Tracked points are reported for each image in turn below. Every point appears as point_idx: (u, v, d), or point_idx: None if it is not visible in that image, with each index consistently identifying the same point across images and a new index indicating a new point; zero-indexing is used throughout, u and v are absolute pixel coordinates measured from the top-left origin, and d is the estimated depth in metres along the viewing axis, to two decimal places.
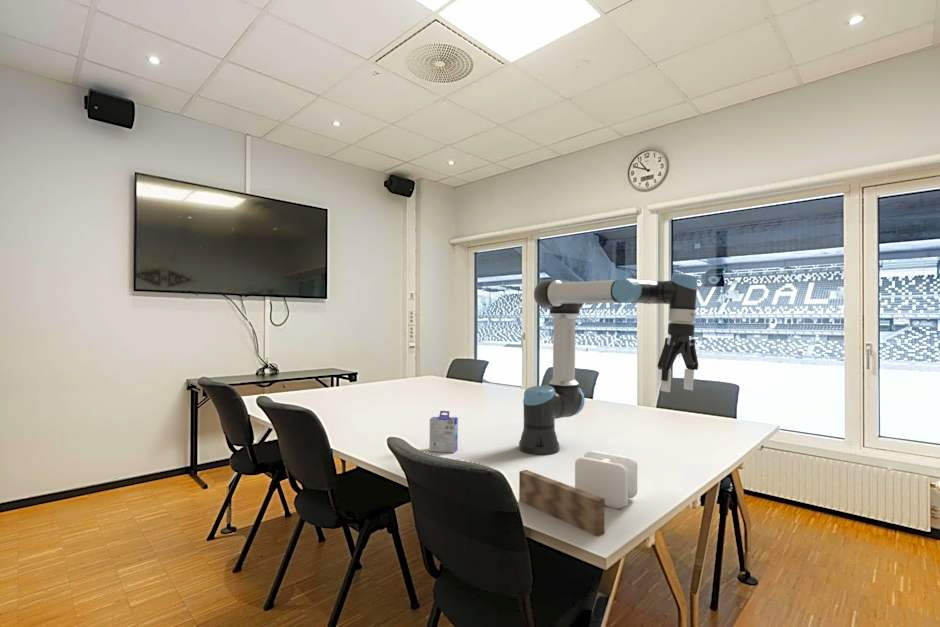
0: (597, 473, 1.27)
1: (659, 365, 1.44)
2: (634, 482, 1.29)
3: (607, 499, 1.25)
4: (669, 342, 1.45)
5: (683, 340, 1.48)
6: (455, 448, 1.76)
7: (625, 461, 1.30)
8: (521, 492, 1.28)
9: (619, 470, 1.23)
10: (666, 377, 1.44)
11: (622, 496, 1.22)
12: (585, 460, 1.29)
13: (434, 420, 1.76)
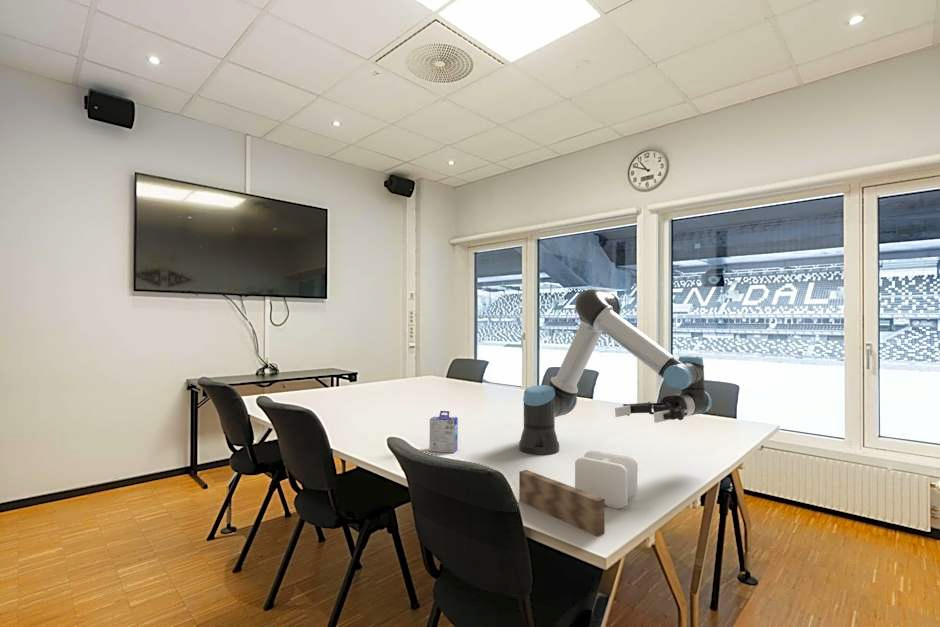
0: (597, 473, 1.27)
1: (681, 413, 1.37)
2: (634, 482, 1.29)
3: (607, 499, 1.25)
4: (685, 412, 1.43)
5: None
6: (455, 448, 1.76)
7: (625, 461, 1.30)
8: (521, 492, 1.28)
9: (619, 470, 1.23)
10: None
11: (623, 497, 1.22)
12: (585, 460, 1.29)
13: (434, 420, 1.76)
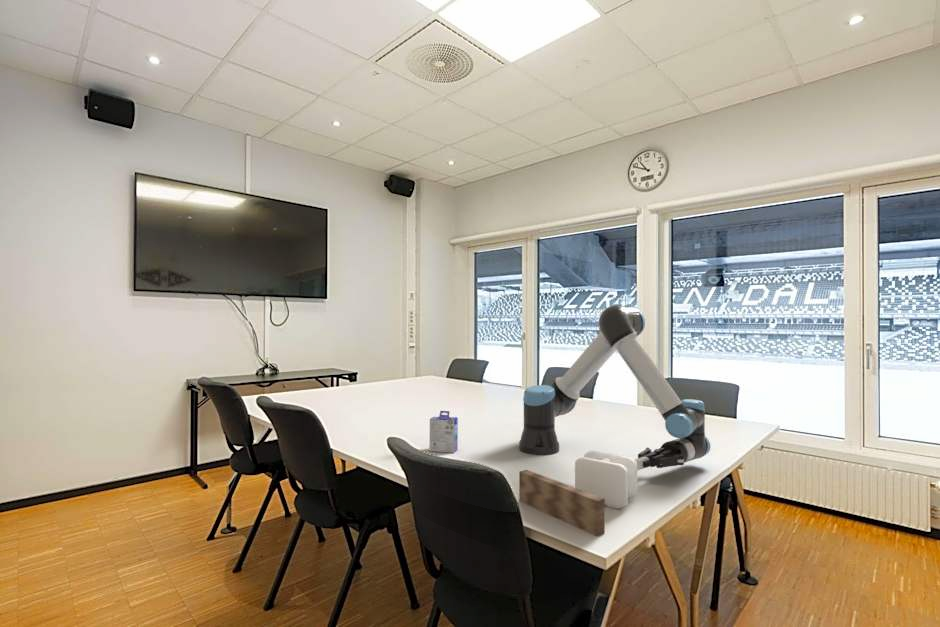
0: (597, 473, 1.27)
1: (660, 461, 1.41)
2: (634, 482, 1.29)
3: (607, 499, 1.25)
4: (679, 462, 1.43)
5: None
6: (455, 448, 1.76)
7: (625, 461, 1.30)
8: (521, 492, 1.28)
9: (619, 470, 1.23)
10: None
11: (622, 496, 1.22)
12: (585, 460, 1.29)
13: (434, 420, 1.76)
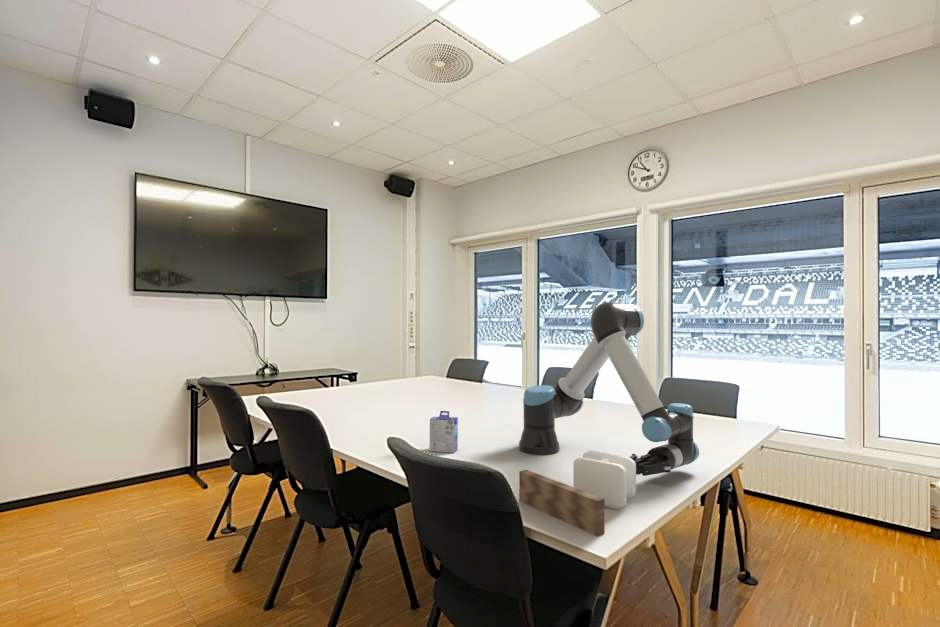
0: (596, 473, 1.26)
1: (646, 469, 1.35)
2: (633, 482, 1.28)
3: (606, 499, 1.25)
4: (666, 469, 1.37)
5: None
6: (455, 448, 1.76)
7: (624, 461, 1.30)
8: (521, 492, 1.28)
9: (618, 470, 1.23)
10: None
11: (621, 497, 1.22)
12: (583, 460, 1.28)
13: (434, 420, 1.76)
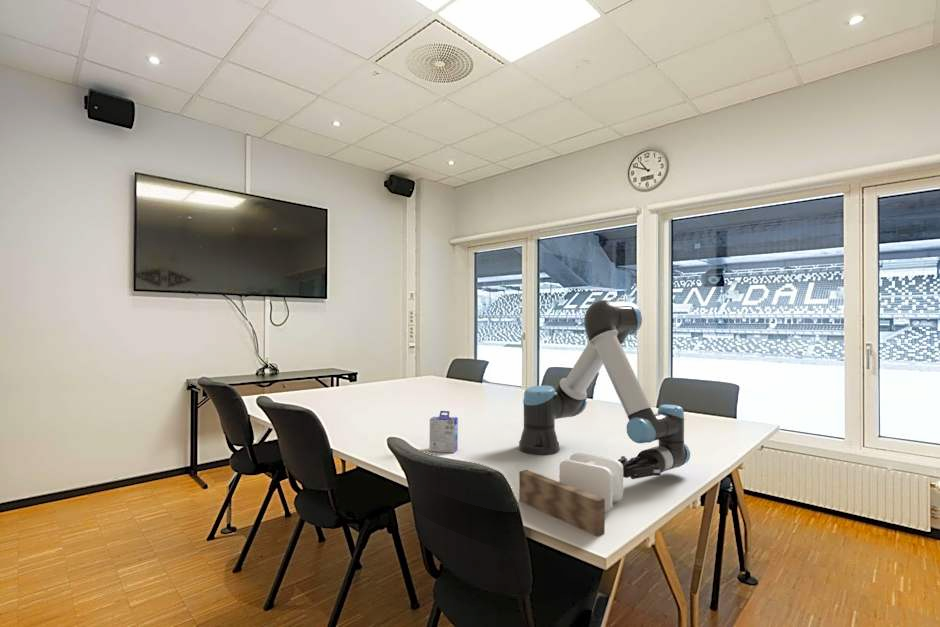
0: (582, 475, 1.24)
1: (634, 472, 1.32)
2: (620, 485, 1.26)
3: None
4: (656, 472, 1.35)
5: None
6: (455, 448, 1.76)
7: (611, 464, 1.27)
8: (521, 492, 1.28)
9: (604, 473, 1.20)
10: None
11: (607, 500, 1.20)
12: (570, 463, 1.26)
13: (434, 420, 1.76)
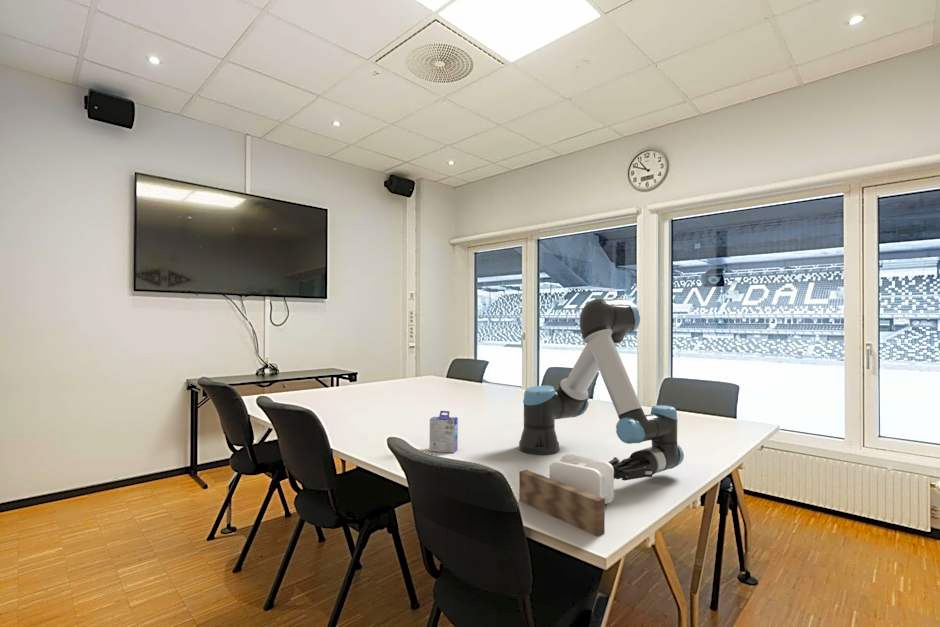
0: (571, 477, 1.23)
1: (626, 473, 1.30)
2: (610, 487, 1.25)
3: None
4: (647, 474, 1.33)
5: None
6: (455, 448, 1.76)
7: (601, 465, 1.26)
8: (521, 492, 1.28)
9: (593, 475, 1.19)
10: None
11: None
12: (559, 464, 1.25)
13: (434, 420, 1.76)
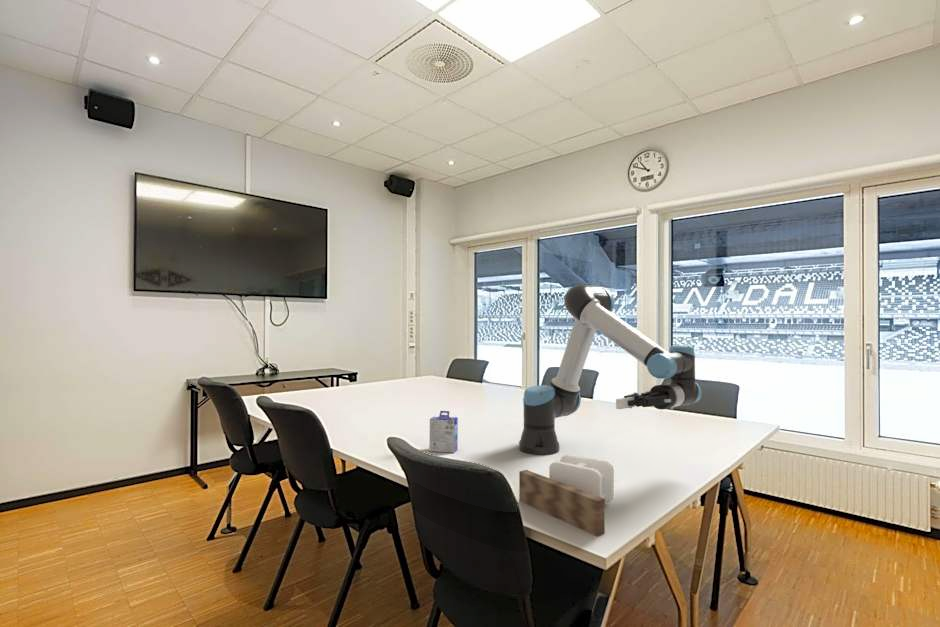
0: (571, 477, 1.23)
1: (645, 400, 1.38)
2: (610, 487, 1.25)
3: None
4: (666, 402, 1.40)
5: None
6: (455, 448, 1.76)
7: (601, 465, 1.26)
8: (521, 492, 1.28)
9: (593, 475, 1.19)
10: None
11: None
12: (559, 464, 1.25)
13: (434, 420, 1.76)
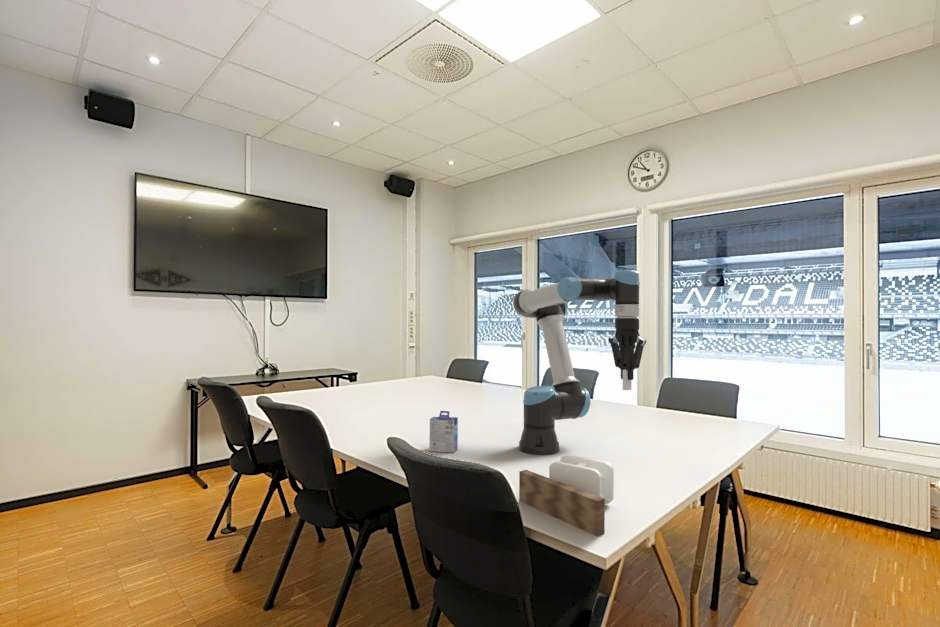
0: (571, 477, 1.23)
1: None
2: (610, 487, 1.25)
3: None
4: None
5: (624, 334, 1.55)
6: (455, 448, 1.76)
7: (601, 465, 1.26)
8: (521, 492, 1.28)
9: (593, 475, 1.19)
10: (622, 375, 1.56)
11: None
12: (559, 464, 1.25)
13: (434, 420, 1.76)
